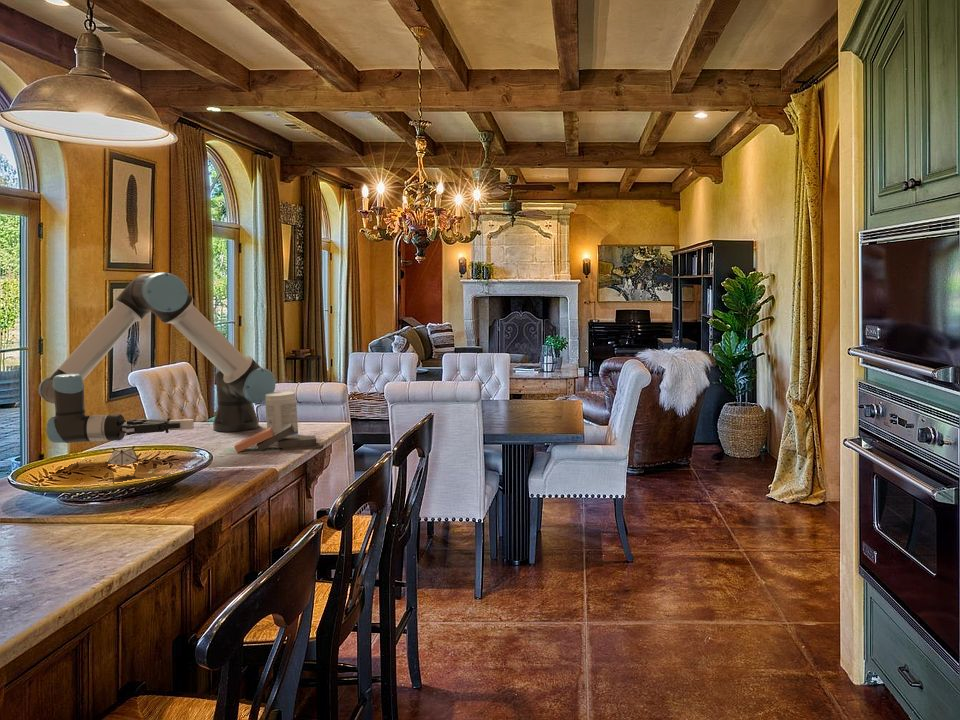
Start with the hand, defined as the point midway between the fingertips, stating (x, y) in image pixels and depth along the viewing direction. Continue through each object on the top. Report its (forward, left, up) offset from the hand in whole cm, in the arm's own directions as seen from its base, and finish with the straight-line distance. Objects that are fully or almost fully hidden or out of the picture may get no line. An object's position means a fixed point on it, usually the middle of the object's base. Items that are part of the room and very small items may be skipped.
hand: (192, 424), depth 220 cm
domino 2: (0, +18, -7) cm, 20 cm away
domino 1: (+1, +12, -7) cm, 14 cm away
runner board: (0, +16, -9) cm, 19 cm away
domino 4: (-1, +25, -9) cm, 27 cm away
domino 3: (-1, +24, -7) cm, 25 cm away
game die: (+24, -12, -10) cm, 28 cm away
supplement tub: (-21, +22, -9) cm, 32 cm away
